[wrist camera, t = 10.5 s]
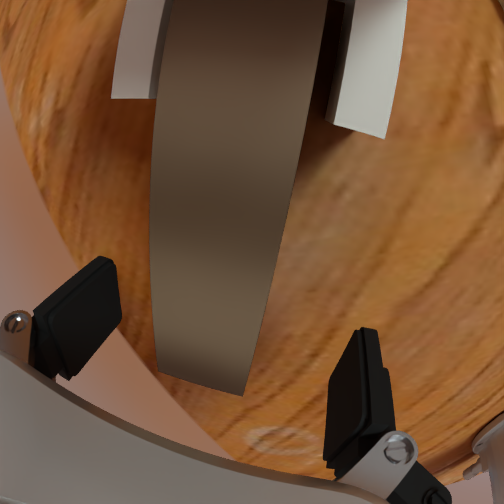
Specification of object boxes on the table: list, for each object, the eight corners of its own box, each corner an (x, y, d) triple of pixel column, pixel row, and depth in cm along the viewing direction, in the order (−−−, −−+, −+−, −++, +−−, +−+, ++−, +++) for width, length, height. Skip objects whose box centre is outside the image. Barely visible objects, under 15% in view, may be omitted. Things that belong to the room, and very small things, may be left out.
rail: (264, 313, 17) (242, 396, 12) (198, 297, 17) (158, 371, 12) (325, 18, 9) (334, -43, 4) (236, 7, 10) (186, -49, 4)
